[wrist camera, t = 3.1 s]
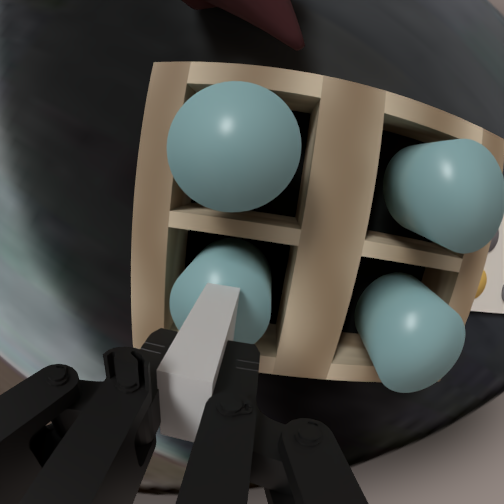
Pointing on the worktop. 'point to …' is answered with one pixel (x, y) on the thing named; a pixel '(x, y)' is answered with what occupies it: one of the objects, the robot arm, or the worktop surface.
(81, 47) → the worktop surface
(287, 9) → the icecream
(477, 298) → the card
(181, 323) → the teal rounded lump
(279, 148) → the teal blunt egg shape
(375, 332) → the teal domed cylinder
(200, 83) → the wooden compartment tray
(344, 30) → the worktop surface
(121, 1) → the worktop surface
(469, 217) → the teal blunt tapered piece
